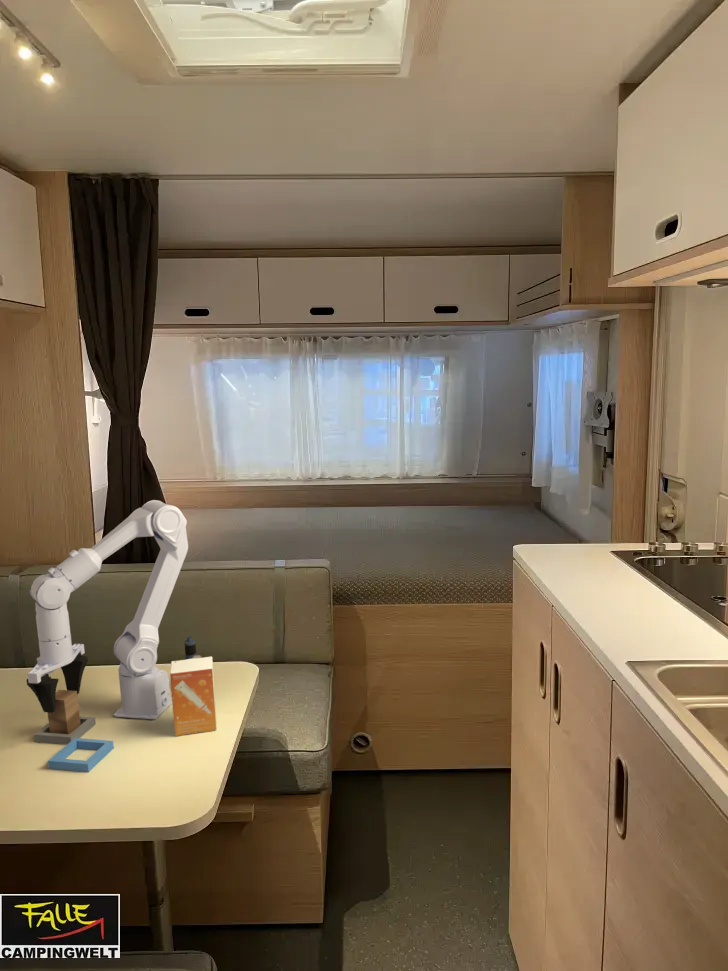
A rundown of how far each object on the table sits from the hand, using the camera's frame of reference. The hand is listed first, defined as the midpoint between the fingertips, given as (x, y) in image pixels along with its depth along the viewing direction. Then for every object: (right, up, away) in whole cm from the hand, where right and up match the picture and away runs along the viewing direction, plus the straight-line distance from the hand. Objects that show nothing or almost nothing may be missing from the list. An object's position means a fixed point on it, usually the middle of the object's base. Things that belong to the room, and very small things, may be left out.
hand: (61, 702), depth 136 cm
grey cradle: (0, -6, +1) cm, 6 cm away
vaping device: (+22, -3, +17) cm, 29 cm away
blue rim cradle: (+7, -8, -9) cm, 14 cm away
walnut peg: (0, -6, +1) cm, 7 cm away
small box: (+26, -5, +2) cm, 27 cm away
